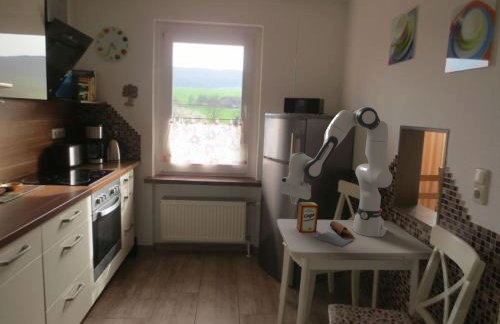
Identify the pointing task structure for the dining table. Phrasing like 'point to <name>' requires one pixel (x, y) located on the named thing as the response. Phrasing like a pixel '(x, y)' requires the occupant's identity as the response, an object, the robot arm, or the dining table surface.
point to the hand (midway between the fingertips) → (294, 203)
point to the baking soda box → (307, 217)
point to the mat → (334, 239)
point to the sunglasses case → (341, 230)
